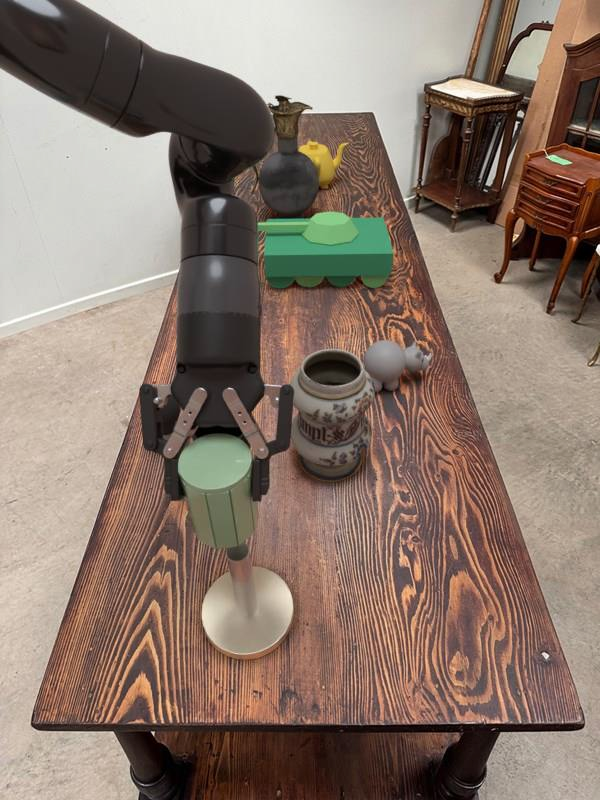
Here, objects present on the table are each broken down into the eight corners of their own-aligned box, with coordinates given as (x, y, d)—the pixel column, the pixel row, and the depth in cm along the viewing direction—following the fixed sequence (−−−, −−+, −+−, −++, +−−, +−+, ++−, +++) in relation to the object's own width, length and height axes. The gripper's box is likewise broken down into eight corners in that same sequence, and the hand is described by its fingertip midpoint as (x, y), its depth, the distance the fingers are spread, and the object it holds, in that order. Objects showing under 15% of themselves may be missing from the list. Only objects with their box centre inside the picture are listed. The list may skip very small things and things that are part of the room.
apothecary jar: (331, 418, 89) (334, 329, 77) (385, 459, 83) (398, 368, 70) (275, 455, 84) (268, 365, 71) (328, 502, 77) (331, 412, 65)
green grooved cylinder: (206, 560, 50) (192, 501, 44) (183, 507, 54) (168, 447, 48) (269, 532, 52) (264, 473, 46) (242, 484, 56) (234, 423, 50)
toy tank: (232, 203, 123) (385, 201, 123) (237, 253, 132) (380, 251, 131) (224, 239, 110) (395, 236, 110) (230, 291, 119) (389, 289, 118)
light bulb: (180, 456, 84) (169, 409, 77) (146, 452, 84) (132, 406, 78) (191, 430, 88) (181, 384, 81) (158, 426, 88) (146, 380, 82)
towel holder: (222, 678, 60) (205, 621, 50) (190, 595, 67) (170, 531, 57) (309, 632, 63) (309, 571, 54) (270, 558, 71) (263, 492, 61)
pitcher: (321, 224, 142) (322, 98, 122) (248, 228, 141) (237, 102, 121) (316, 207, 150) (317, 86, 130) (248, 211, 149) (237, 89, 129)
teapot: (322, 197, 155) (322, 155, 147) (282, 186, 161) (280, 145, 153) (347, 182, 163) (349, 140, 155) (308, 172, 169) (308, 132, 161)
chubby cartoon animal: (433, 392, 94) (441, 353, 88) (366, 397, 93) (369, 359, 87) (422, 365, 99) (429, 327, 93) (358, 371, 98) (361, 333, 92)
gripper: (126, 307, 45) (123, 506, 45) (297, 307, 45) (296, 507, 44) (152, 323, 53) (150, 494, 52) (299, 323, 52) (298, 494, 52)
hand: (217, 499), depth 48 cm, fingers closed on green grooved cylinder, 6 cm apart
